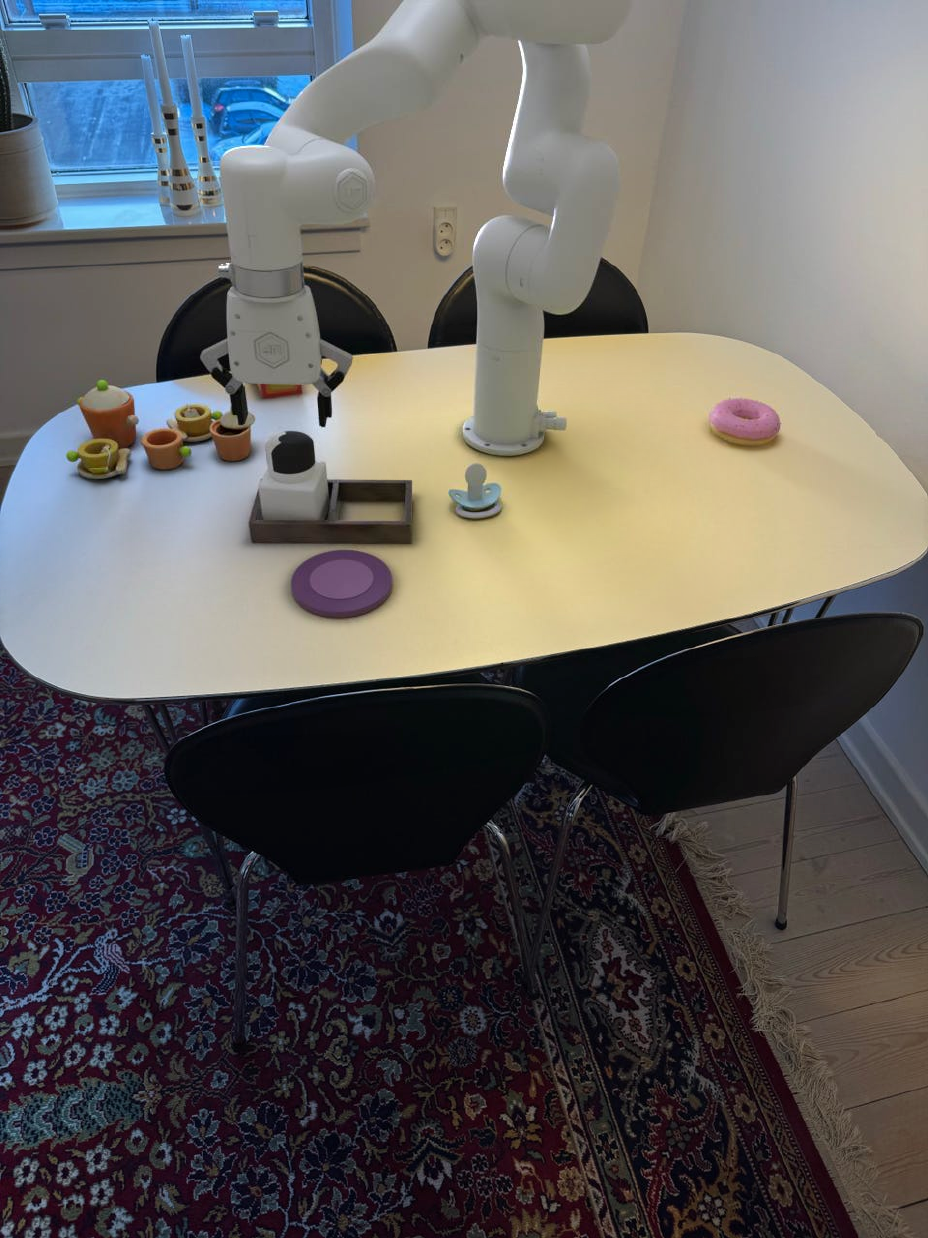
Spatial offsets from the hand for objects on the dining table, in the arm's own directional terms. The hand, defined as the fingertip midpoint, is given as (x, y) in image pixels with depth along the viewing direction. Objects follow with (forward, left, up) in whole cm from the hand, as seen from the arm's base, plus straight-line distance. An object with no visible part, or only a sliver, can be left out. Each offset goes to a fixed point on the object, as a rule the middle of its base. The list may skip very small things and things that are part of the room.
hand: (283, 420), depth 103 cm
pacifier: (-24, -3, -15) cm, 29 cm away
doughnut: (-67, -25, -15) cm, 73 cm away
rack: (-5, 0, -15) cm, 15 cm away
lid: (-7, +14, -15) cm, 21 cm away
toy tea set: (+21, -18, -15) cm, 31 cm away
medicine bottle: (0, 0, -15) cm, 15 cm away
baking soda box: (+8, -40, -15) cm, 44 cm away
